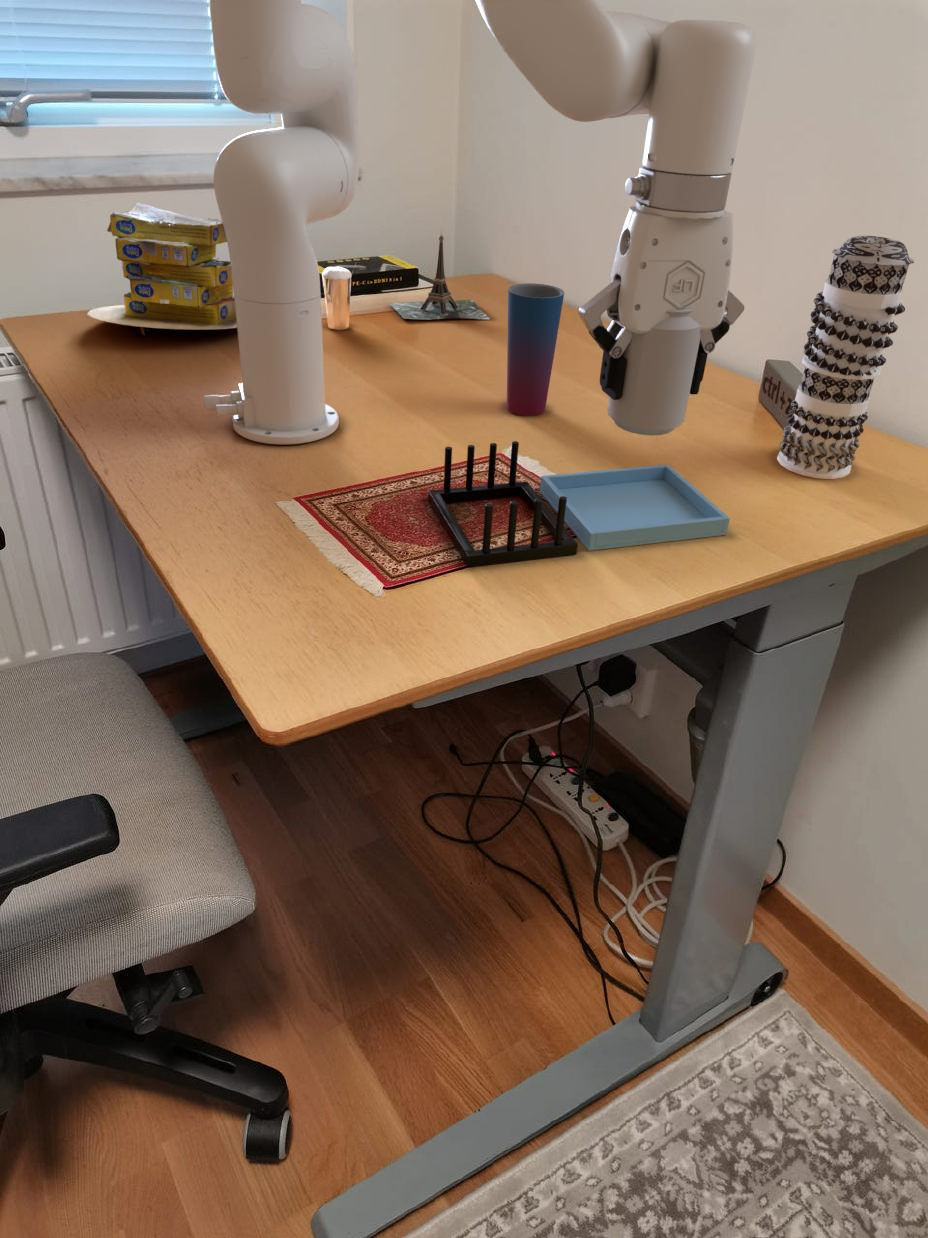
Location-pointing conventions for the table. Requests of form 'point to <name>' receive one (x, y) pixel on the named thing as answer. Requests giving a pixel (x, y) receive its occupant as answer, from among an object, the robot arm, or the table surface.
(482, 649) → the table surface
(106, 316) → the stacked yellow boxes
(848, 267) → the decorative candle
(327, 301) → the glass of beer
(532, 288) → the cup
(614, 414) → the can
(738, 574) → the table surface
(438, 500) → the dish rack
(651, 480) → the tray
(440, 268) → the eiffel tower figurine
